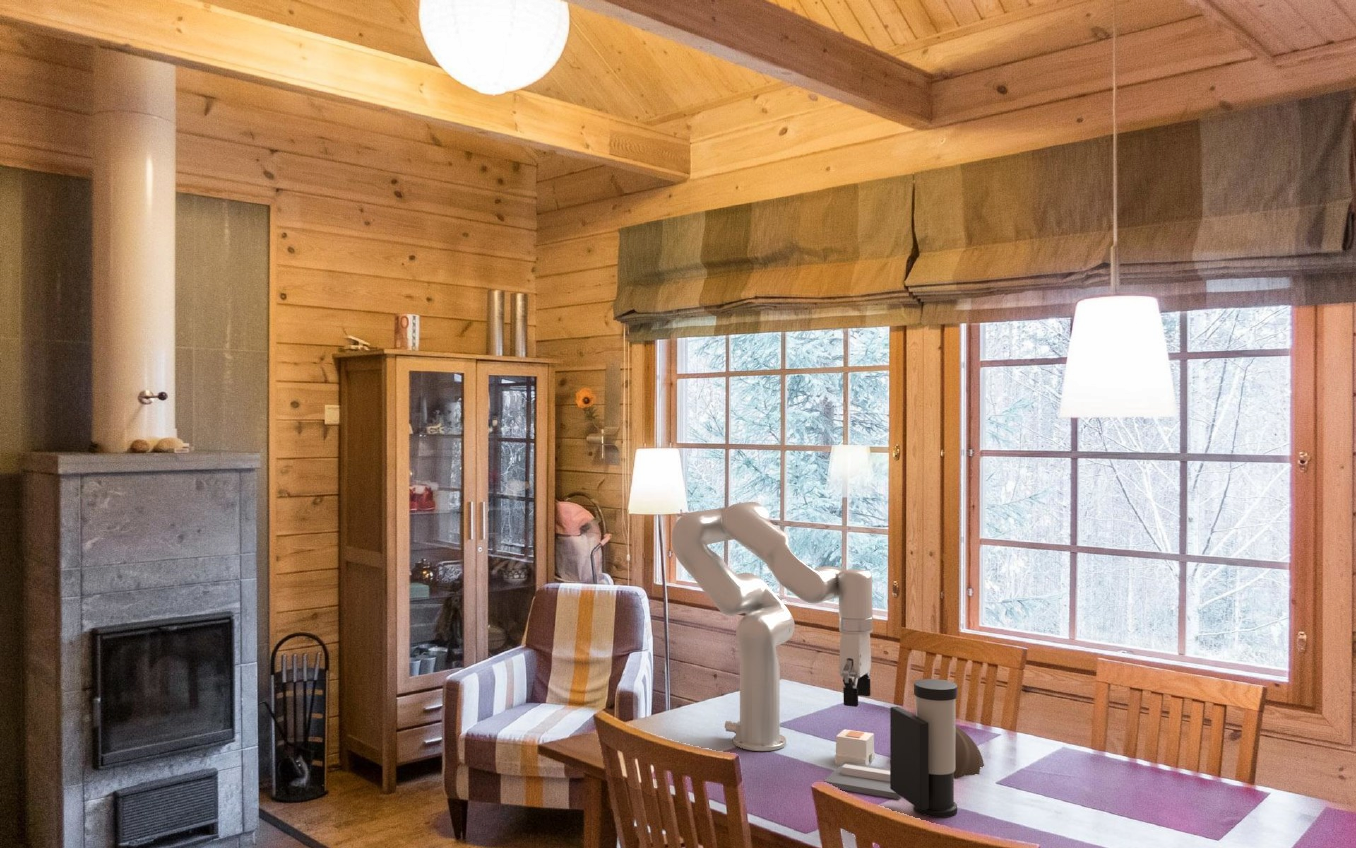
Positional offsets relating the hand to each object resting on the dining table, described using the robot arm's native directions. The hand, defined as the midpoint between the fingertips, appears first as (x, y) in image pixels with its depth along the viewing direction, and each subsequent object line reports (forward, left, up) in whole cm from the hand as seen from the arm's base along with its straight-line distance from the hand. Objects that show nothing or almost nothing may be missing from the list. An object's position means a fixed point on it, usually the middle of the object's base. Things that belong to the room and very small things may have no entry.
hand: (857, 700), depth 228 cm
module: (-1, 0, -14) cm, 14 cm away
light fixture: (+21, -22, -14) cm, 34 cm away
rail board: (+6, -12, -14) cm, 19 cm away
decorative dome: (+17, +7, -14) cm, 23 cm away
